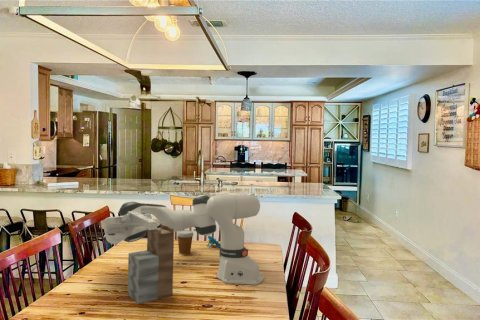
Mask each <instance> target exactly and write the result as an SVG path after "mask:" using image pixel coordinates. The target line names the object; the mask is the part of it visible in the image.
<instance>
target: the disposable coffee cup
mask: <svg viewBox="0 0 480 320" xmlns="http://www.w3.org/2000/svg"><path fill="white" fill-rule="evenodd" d="M176 236H177V243H178V244H177V245H178V253H179V254H181V255H189V254H190V253H191V252H192V251H191V249H192V242H193V237H194V230H187V229H184V230H181V231H177V233H176Z"/></svg>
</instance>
